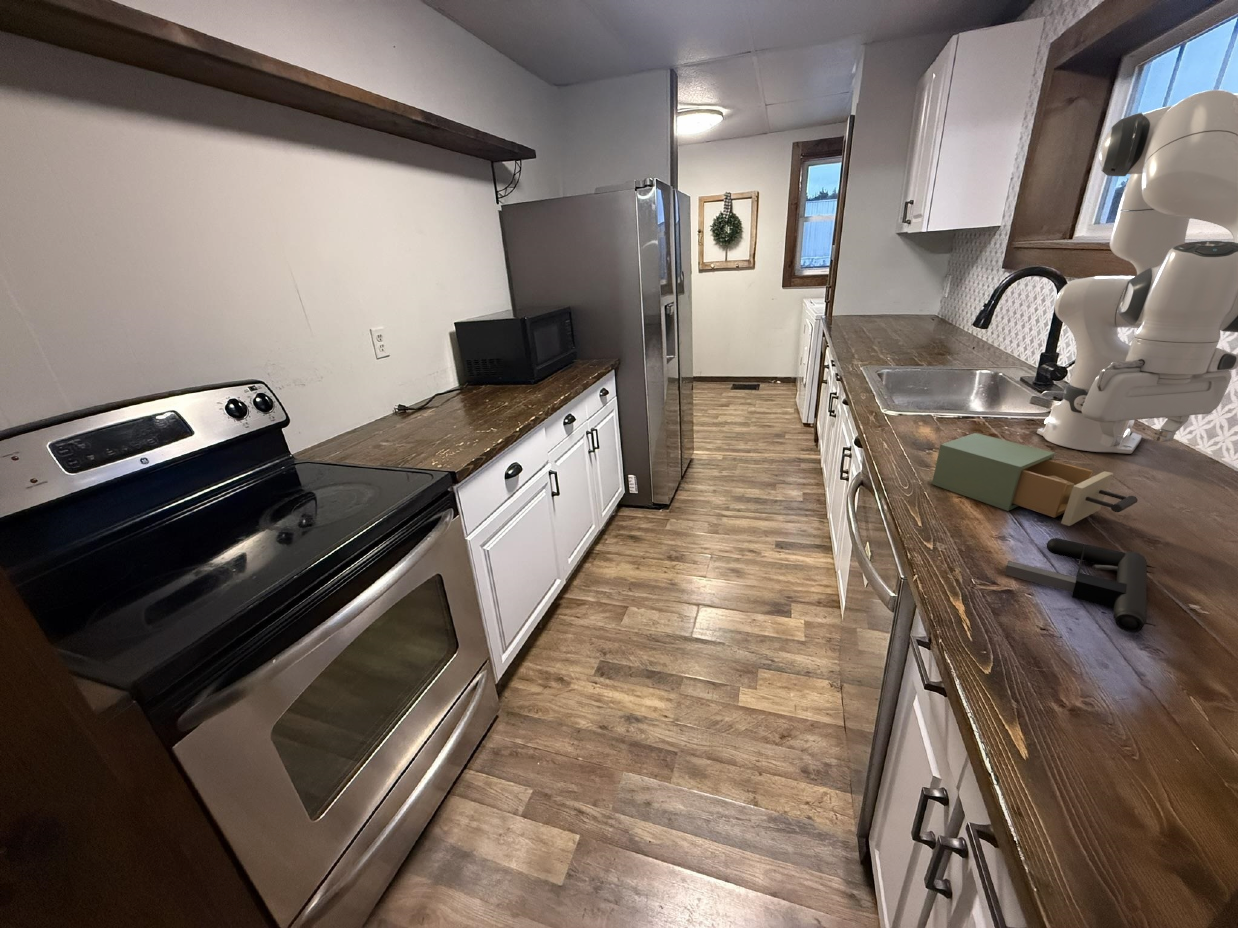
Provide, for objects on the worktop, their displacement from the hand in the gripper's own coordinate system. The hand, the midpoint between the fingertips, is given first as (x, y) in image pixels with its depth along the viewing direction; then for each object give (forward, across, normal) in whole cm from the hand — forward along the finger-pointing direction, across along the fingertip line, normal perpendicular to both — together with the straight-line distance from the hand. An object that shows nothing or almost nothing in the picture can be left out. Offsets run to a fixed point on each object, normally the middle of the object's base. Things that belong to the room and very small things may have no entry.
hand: (1135, 443), depth 81 cm
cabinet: (+16, -7, +18) cm, 25 cm away
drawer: (+15, -3, +7) cm, 17 cm away
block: (+14, -3, +8) cm, 16 cm away
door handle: (+16, -19, -13) cm, 28 cm away
